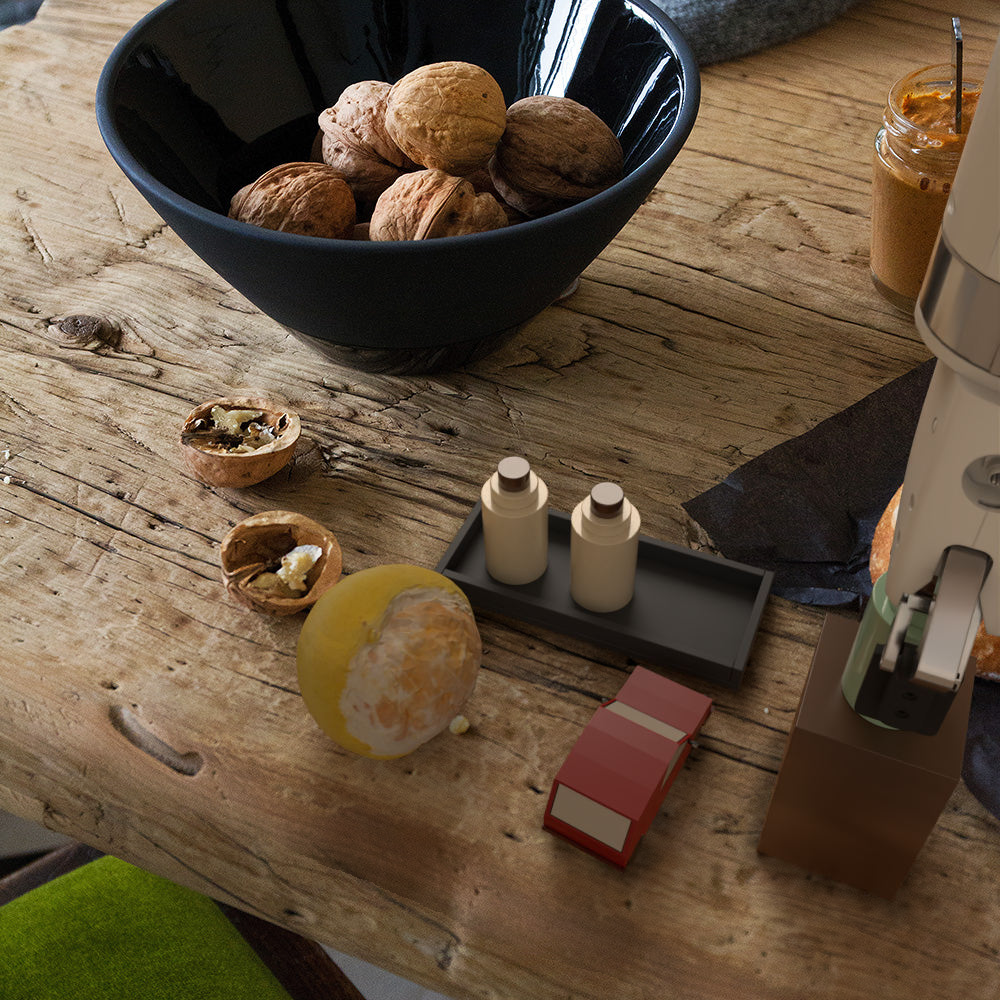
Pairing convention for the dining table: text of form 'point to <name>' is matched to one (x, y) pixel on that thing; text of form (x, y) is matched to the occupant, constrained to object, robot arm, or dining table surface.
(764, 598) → the tray
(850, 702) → the bottle celadon
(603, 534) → the bottle mid
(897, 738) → the stand
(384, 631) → the fruit
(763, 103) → the dining table surface
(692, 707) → the toy truck
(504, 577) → the bottle far
